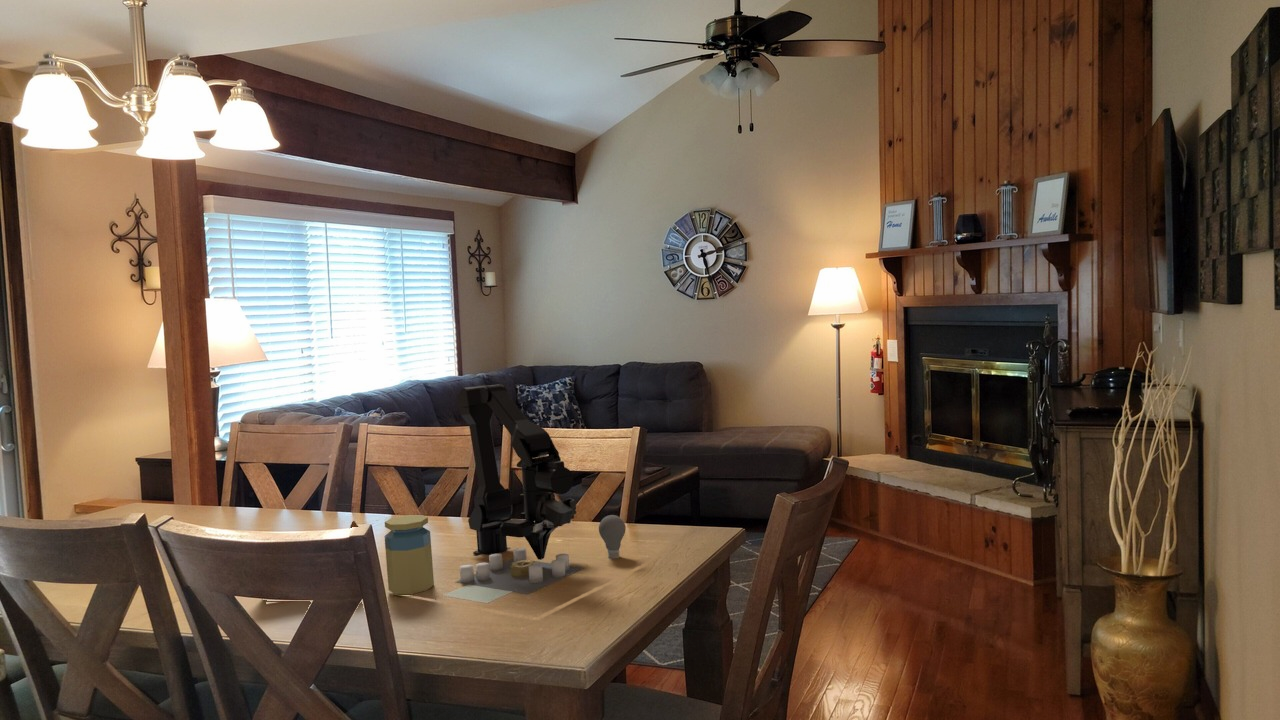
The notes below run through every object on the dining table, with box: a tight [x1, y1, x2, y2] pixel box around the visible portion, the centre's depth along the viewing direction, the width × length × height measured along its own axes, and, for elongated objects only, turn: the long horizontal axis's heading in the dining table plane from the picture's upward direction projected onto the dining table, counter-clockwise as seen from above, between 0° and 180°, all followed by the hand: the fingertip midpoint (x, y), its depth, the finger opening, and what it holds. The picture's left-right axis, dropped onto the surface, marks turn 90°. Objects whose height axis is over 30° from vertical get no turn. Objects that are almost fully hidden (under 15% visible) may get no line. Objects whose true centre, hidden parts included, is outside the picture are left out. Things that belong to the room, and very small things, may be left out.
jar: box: [384, 514, 435, 596], centre depth 189 cm, size 9×9×15 cm
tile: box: [442, 584, 512, 604], centre depth 183 cm, size 12×8×1 cm, turn 57°
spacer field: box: [454, 547, 585, 595], centre depth 193 cm, size 20×19×4 cm
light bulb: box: [598, 514, 627, 560], centre depth 203 cm, size 6×6×10 cm
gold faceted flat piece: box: [510, 559, 535, 578], centre depth 194 cm, size 6×5×2 cm
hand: (540, 559), depth 199 cm, fingers closed
